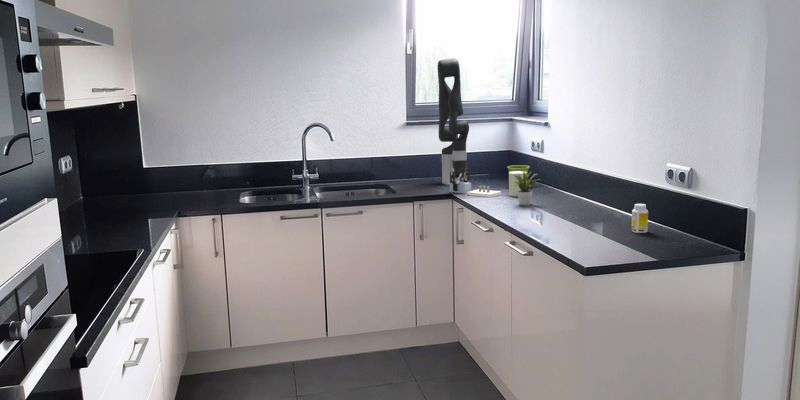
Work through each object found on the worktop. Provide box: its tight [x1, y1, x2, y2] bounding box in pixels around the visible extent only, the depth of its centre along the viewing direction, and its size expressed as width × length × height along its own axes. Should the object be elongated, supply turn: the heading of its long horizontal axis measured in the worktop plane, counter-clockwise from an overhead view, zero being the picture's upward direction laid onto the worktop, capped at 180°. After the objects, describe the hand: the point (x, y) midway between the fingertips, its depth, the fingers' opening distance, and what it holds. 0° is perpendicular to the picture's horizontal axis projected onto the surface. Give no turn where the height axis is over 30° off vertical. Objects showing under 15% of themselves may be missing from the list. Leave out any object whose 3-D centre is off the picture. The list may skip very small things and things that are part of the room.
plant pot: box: [506, 164, 530, 174], centre depth 339 cm, size 12×12×11 cm
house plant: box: [513, 170, 543, 206], centre depth 290 cm, size 14×14×16 cm
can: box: [508, 171, 528, 198], centre depth 317 cm, size 9×9×12 cm
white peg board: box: [466, 185, 502, 198], centre depth 321 cm, size 10×14×4 cm
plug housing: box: [449, 181, 472, 195], centre depth 331 cm, size 5×10×5 cm, turn 48°
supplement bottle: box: [631, 203, 649, 234], centre depth 232 cm, size 6×6×10 cm
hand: (460, 189), depth 331 cm, fingers open, 8 cm apart
